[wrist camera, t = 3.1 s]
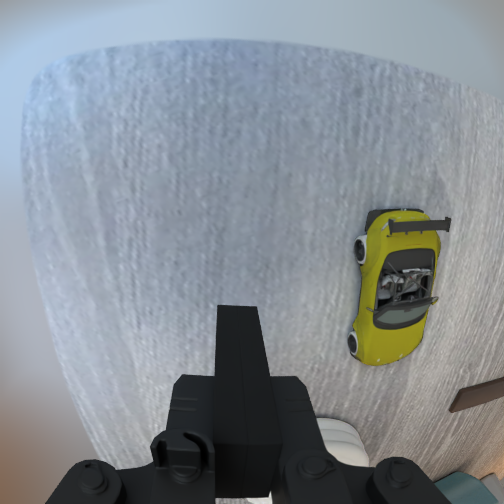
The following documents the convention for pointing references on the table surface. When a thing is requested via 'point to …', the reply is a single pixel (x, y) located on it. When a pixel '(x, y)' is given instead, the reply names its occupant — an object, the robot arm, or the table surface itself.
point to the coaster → (336, 447)
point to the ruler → (478, 395)
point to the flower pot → (465, 490)
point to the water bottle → (494, 487)
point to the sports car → (394, 283)
